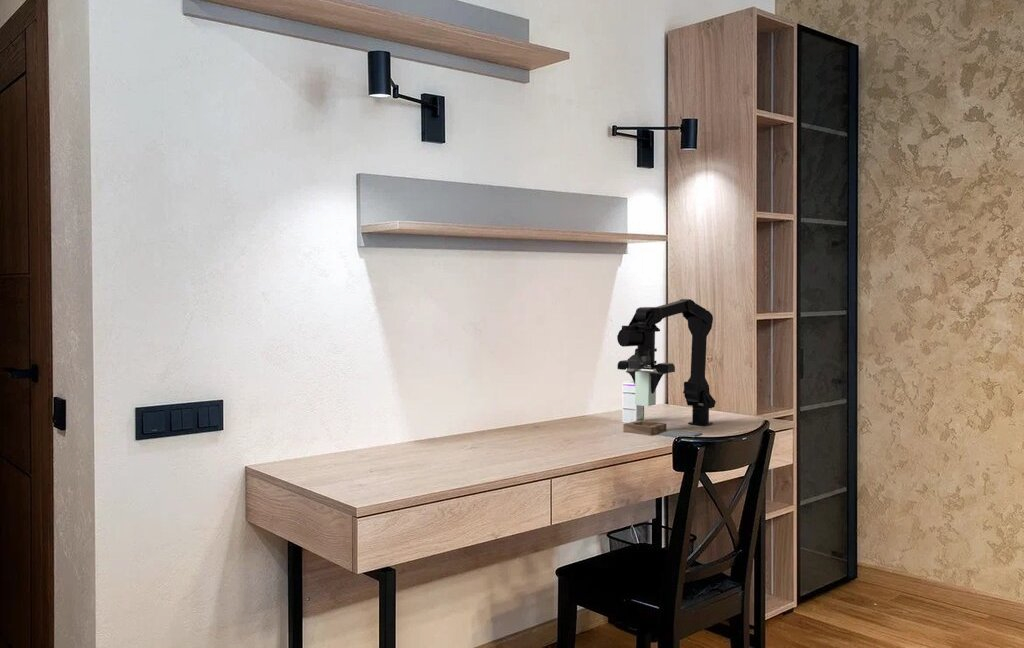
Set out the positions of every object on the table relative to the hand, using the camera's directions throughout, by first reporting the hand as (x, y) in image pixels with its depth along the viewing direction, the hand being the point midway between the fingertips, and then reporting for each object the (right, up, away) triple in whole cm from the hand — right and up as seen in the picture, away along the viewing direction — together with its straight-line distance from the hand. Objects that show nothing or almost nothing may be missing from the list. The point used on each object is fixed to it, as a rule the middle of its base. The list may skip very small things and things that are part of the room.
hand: (645, 392), depth 281 cm
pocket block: (0, -13, +1) cm, 13 cm away
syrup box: (-1, -12, +18) cm, 22 cm away
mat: (+11, -13, -5) cm, 18 cm away
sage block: (0, -4, 0) cm, 4 cm away
